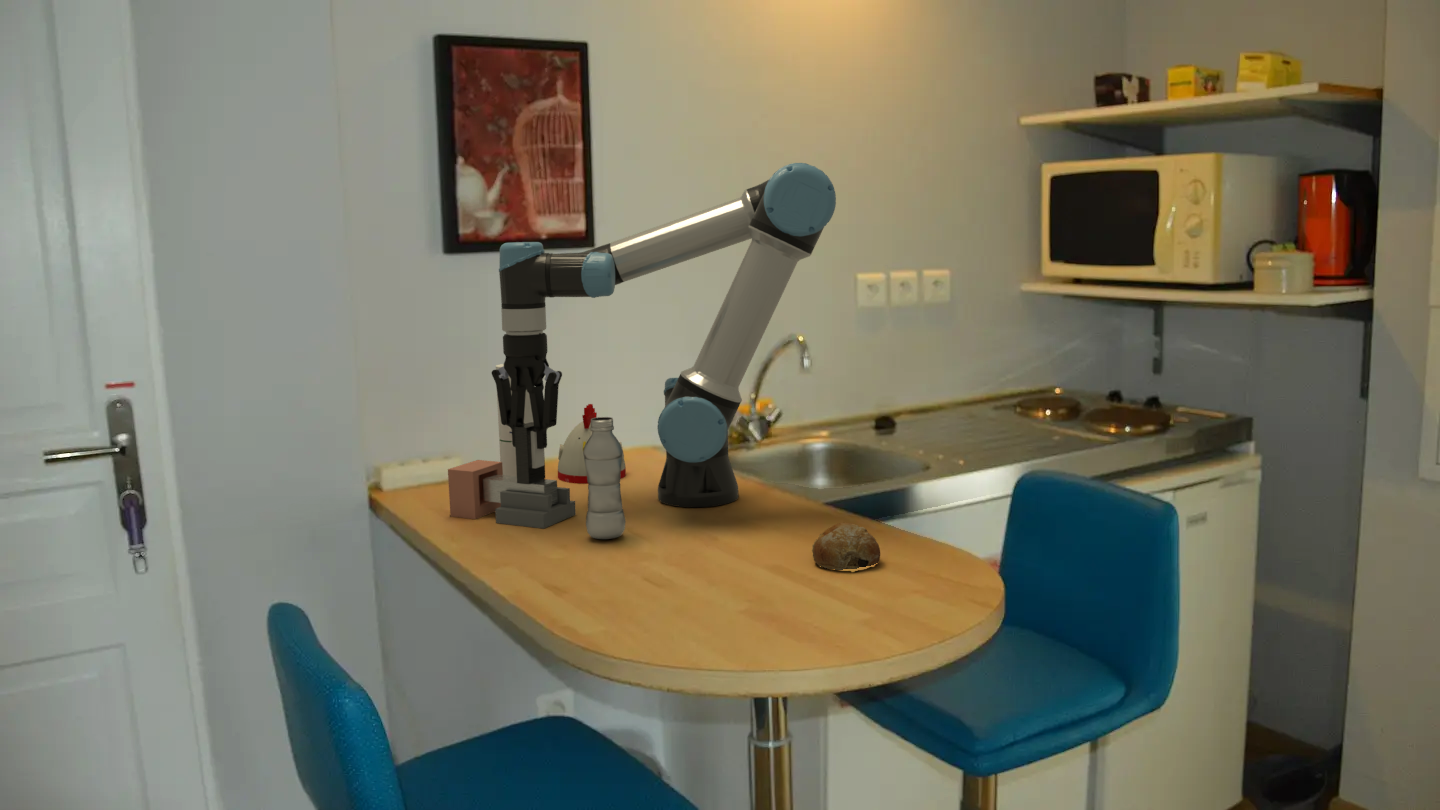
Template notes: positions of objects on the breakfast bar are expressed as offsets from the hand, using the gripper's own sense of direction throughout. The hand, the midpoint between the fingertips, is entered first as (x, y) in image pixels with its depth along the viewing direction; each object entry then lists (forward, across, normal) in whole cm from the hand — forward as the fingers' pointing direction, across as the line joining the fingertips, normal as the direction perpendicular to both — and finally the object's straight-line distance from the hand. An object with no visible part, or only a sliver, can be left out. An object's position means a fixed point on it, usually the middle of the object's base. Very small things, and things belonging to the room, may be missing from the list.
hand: (530, 465), depth 197 cm
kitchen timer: (+10, +8, -33) cm, 35 cm away
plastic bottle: (+10, -19, +6) cm, 22 cm away
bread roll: (+10, -59, +4) cm, 60 cm away
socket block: (+10, +12, 0) cm, 15 cm away
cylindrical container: (+10, +13, -15) cm, 22 cm away
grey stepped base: (+10, -1, 0) cm, 10 cm away
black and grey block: (+7, +3, 0) cm, 7 cm away
